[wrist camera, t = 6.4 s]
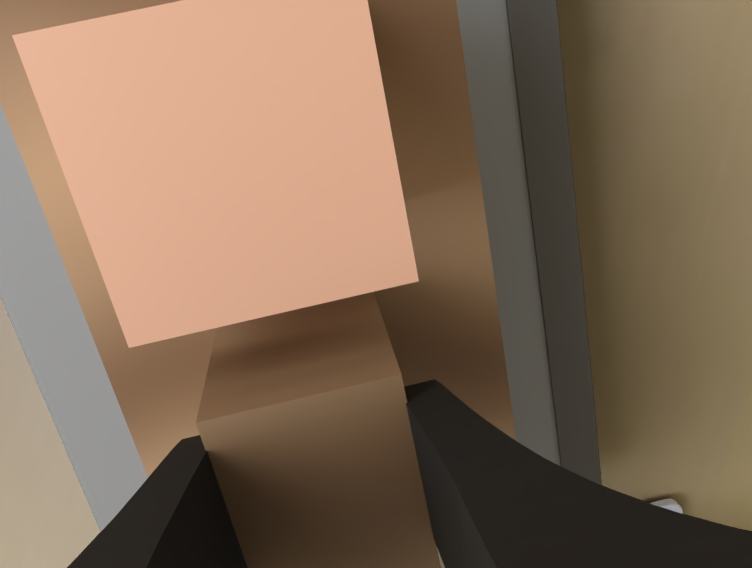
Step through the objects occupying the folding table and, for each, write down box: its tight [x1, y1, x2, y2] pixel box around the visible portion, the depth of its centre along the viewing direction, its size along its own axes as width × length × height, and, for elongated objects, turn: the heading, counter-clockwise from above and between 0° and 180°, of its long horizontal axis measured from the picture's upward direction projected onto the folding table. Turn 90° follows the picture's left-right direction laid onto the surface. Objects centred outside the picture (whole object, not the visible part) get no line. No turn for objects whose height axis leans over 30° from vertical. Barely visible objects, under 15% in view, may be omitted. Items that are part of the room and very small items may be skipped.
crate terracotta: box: [12, 0, 419, 348], centre depth 10 cm, size 4×4×4 cm
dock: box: [0, 0, 602, 531], centre depth 19 cm, size 19×15×3 cm
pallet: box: [0, 0, 516, 568], centre depth 13 cm, size 17×8×6 cm, turn 11°
